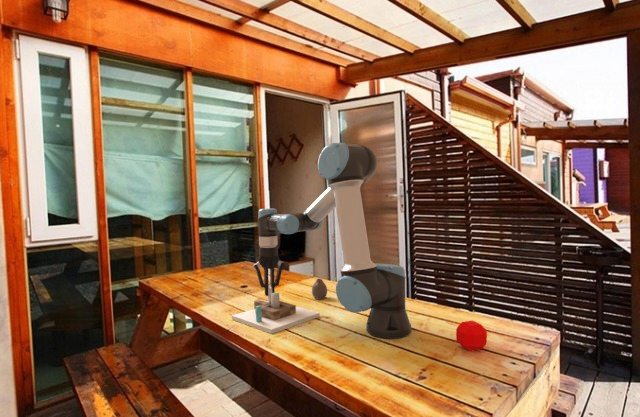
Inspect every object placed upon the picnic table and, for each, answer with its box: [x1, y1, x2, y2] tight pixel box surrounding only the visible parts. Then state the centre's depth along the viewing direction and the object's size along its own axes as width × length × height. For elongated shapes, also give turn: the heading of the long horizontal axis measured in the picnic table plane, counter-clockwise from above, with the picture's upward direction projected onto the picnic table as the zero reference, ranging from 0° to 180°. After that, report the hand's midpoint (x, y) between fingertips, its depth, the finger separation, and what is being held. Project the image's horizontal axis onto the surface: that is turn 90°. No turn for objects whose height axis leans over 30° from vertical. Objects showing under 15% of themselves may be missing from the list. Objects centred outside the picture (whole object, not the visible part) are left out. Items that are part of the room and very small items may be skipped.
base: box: [231, 292, 321, 334], centre depth 152 cm, size 24×24×10 cm
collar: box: [253, 299, 297, 320], centre depth 155 cm, size 18×11×3 cm, turn 46°
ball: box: [455, 320, 488, 352], centre depth 120 cm, size 8×8×8 cm
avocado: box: [311, 278, 328, 300], centre depth 179 cm, size 7×7×9 cm
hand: (269, 303), depth 162 cm, fingers closed
